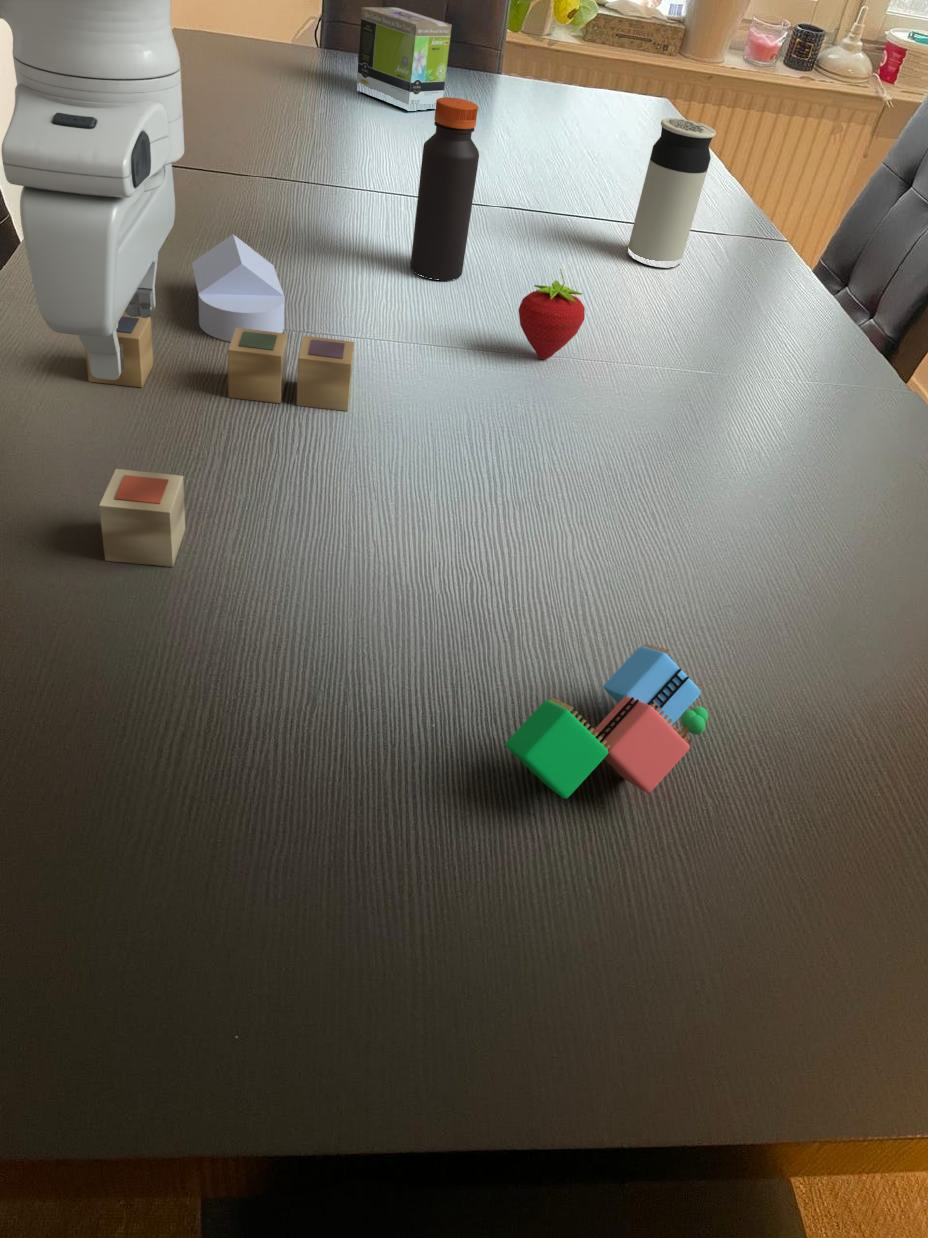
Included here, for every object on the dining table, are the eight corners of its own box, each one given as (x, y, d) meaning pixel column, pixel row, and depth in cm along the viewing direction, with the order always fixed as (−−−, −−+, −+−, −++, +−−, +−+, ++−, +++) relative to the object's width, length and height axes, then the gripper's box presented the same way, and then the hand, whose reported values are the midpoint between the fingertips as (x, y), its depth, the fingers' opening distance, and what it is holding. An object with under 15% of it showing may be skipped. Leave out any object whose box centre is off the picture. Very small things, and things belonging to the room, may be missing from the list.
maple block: (104, 560, 74) (98, 504, 70) (120, 522, 77) (115, 467, 74) (173, 567, 74) (170, 511, 71) (185, 529, 78) (183, 474, 75)
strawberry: (504, 345, 113) (519, 259, 107) (565, 347, 115) (584, 262, 109) (517, 369, 109) (534, 280, 102) (581, 371, 111) (602, 284, 104)
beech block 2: (228, 397, 95) (227, 348, 92) (235, 374, 99) (235, 325, 95) (280, 403, 95) (281, 354, 92) (286, 380, 99) (287, 332, 96)
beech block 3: (296, 405, 96) (298, 356, 92) (301, 381, 99) (303, 334, 96) (347, 411, 96) (351, 363, 93) (350, 387, 100) (354, 340, 97)
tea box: (443, 109, 193) (454, 23, 183) (406, 113, 186) (415, 24, 177) (391, 88, 200) (398, 4, 190) (353, 91, 193) (359, 4, 184)
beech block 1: (88, 381, 93) (82, 330, 90) (101, 358, 97) (96, 308, 94) (142, 388, 94) (139, 337, 91) (153, 364, 98) (150, 315, 94)
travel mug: (637, 268, 139) (672, 131, 128) (619, 247, 145) (651, 114, 134) (688, 271, 141) (727, 137, 130) (668, 250, 147) (704, 120, 136)
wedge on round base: (192, 291, 112) (202, 342, 103) (190, 232, 108) (201, 279, 98) (272, 293, 115) (289, 343, 105) (274, 235, 110) (291, 282, 101)
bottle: (400, 271, 126) (418, 99, 113) (424, 257, 131) (444, 91, 118) (447, 286, 124) (471, 114, 111) (470, 272, 129) (495, 105, 116)
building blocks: (563, 807, 68) (679, 680, 69) (610, 844, 60) (739, 700, 61) (485, 731, 66) (605, 602, 67) (523, 759, 58) (658, 612, 59)
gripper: (93, 69, 64) (113, 277, 73) (-12, 159, 49) (30, 410, 57) (192, 82, 65) (200, 287, 74) (119, 175, 49) (141, 420, 58)
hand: (125, 342), depth 66 cm, fingers open, 8 cm apart
